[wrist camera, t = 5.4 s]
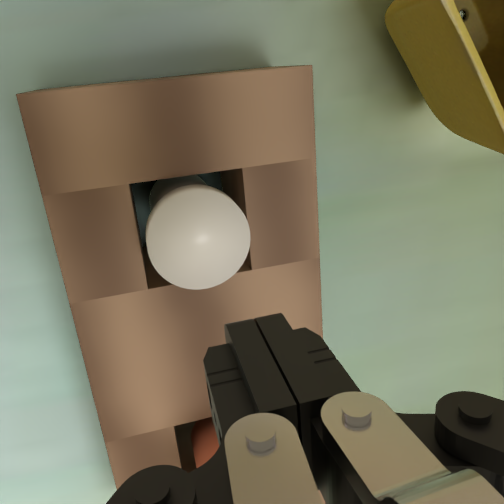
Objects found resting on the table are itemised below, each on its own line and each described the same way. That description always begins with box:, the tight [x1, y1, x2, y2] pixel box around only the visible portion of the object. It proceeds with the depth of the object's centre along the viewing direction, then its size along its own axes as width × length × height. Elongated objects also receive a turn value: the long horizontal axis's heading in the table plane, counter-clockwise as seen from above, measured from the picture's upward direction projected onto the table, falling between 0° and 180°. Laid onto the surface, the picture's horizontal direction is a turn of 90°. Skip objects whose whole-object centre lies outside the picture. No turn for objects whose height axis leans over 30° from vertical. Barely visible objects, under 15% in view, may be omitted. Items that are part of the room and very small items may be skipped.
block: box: [16, 65, 325, 504], centre depth 27 cm, size 12×26×6 cm, turn 5°
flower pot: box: [385, 0, 504, 154], centre depth 24 cm, size 9×9×9 cm
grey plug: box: [145, 175, 250, 290], centre depth 24 cm, size 4×4×7 cm
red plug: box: [191, 417, 219, 468], centre depth 25 cm, size 4×4×7 cm
